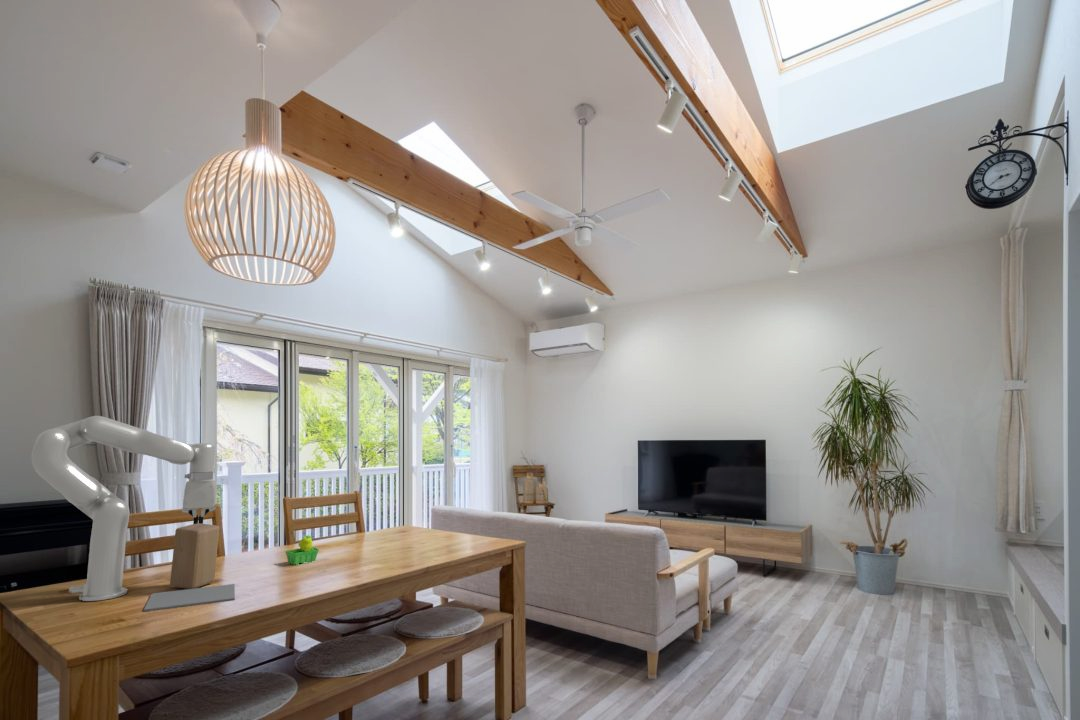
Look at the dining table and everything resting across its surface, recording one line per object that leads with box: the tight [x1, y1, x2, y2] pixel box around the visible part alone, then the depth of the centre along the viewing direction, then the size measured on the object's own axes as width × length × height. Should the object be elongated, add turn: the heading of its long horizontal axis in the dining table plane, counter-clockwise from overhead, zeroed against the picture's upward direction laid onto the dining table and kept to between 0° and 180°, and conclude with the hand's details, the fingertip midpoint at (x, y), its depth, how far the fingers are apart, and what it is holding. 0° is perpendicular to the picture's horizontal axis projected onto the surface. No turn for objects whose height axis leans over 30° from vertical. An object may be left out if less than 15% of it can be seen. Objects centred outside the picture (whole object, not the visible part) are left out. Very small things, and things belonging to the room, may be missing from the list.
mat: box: [143, 583, 236, 612], centre depth 183 cm, size 24×20×1 cm
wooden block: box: [169, 523, 220, 590], centre depth 198 cm, size 10×10×20 cm
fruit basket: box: [285, 534, 320, 566], centre depth 233 cm, size 11×9×11 cm
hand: (197, 527), depth 205 cm, fingers closed
